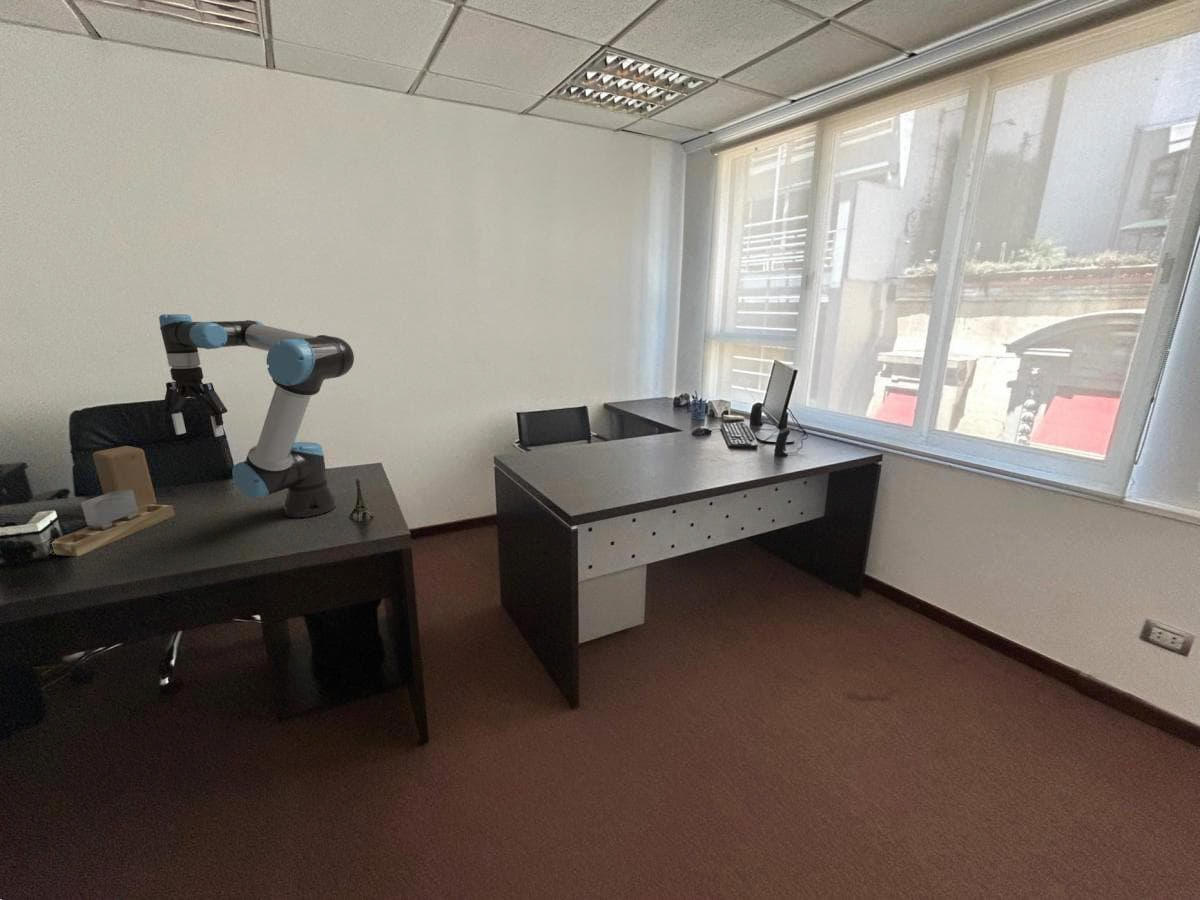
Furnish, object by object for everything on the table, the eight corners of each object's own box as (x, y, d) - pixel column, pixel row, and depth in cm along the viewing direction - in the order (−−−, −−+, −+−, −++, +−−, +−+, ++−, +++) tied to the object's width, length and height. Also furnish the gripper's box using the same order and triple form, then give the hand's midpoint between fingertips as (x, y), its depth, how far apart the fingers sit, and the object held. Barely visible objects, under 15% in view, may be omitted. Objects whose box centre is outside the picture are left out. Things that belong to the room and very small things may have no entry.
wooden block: (158, 504, 172) (144, 448, 166) (122, 514, 163) (105, 456, 157) (142, 499, 176) (128, 444, 170) (106, 509, 167) (90, 452, 161)
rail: (175, 515, 163) (172, 505, 162) (77, 556, 136) (74, 544, 135) (150, 513, 164) (148, 503, 163) (49, 554, 137) (46, 542, 136)
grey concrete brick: (142, 526, 155) (132, 489, 152) (103, 541, 145) (92, 503, 141) (131, 525, 156) (121, 488, 152) (92, 540, 145) (80, 502, 142)
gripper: (232, 366, 154) (245, 433, 160) (161, 364, 157) (176, 430, 163) (211, 369, 147) (225, 439, 153) (137, 367, 150) (153, 435, 156)
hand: (200, 434), depth 158 cm, fingers open, 13 cm apart
